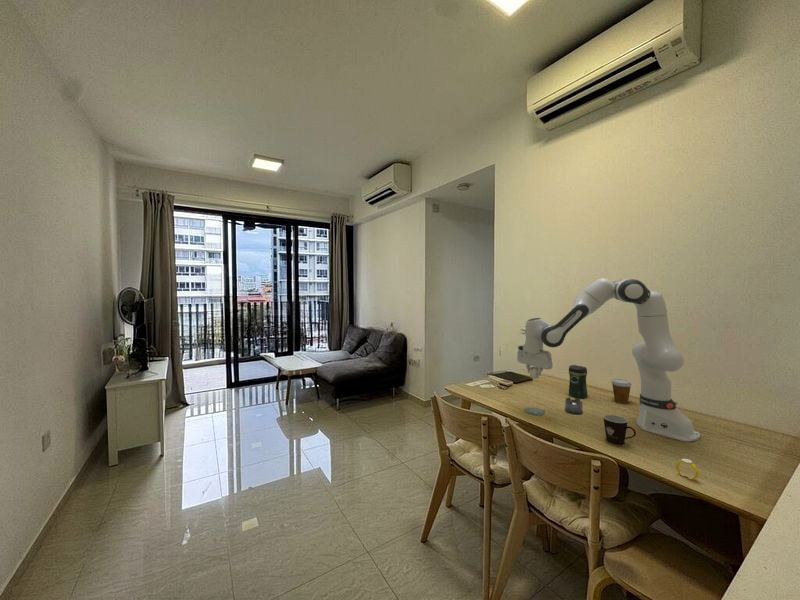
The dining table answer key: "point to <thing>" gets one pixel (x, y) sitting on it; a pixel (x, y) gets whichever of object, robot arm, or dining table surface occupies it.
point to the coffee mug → (616, 429)
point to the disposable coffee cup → (621, 390)
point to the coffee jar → (578, 381)
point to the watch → (687, 463)
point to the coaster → (534, 411)
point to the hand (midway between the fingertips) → (534, 374)
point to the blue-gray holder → (573, 406)
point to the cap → (534, 372)
